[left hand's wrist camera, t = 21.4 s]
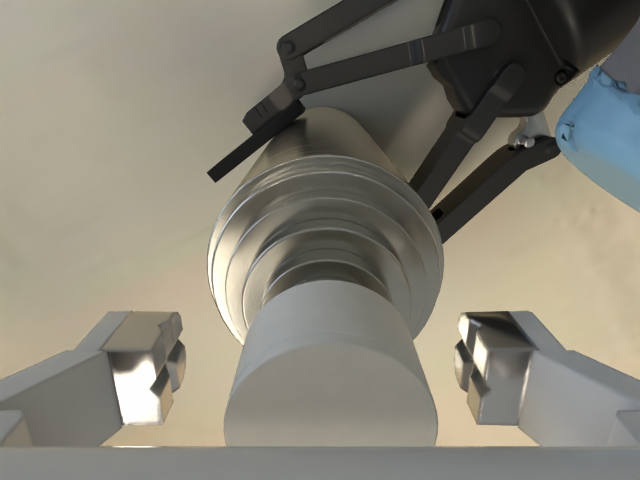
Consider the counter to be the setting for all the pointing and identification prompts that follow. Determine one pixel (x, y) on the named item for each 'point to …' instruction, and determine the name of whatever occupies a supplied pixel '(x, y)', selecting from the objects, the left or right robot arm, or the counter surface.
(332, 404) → the cap
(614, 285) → the counter surface
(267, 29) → the counter surface
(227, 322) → the silver ridged cylinder
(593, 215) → the counter surface
